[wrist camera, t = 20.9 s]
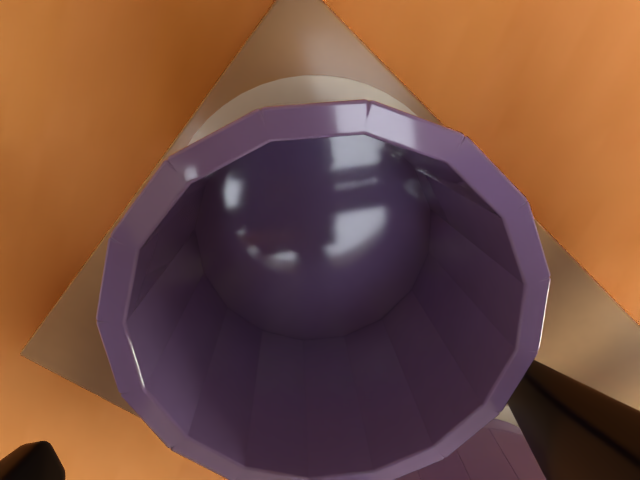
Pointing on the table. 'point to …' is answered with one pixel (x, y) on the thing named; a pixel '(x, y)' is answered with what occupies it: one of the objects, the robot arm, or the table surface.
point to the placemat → (341, 83)
